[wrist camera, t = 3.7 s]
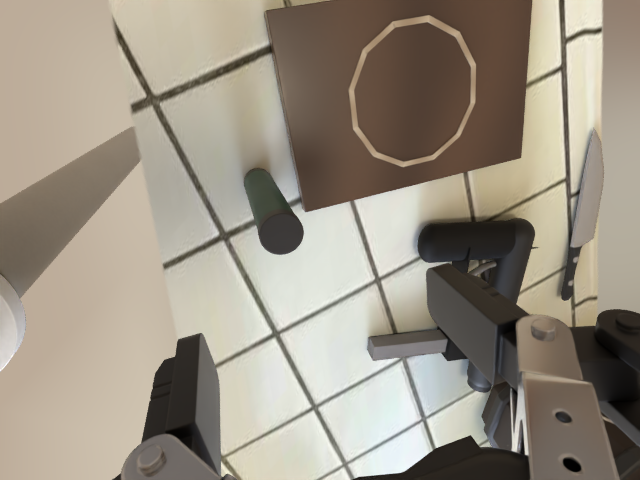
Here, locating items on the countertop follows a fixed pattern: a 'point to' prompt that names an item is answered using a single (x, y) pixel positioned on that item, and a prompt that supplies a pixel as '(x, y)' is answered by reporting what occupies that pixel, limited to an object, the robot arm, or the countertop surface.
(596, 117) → the countertop surface
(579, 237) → the chef's knife
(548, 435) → the robot arm
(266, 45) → the countertop surface
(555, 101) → the countertop surface
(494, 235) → the door handle
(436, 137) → the drawing board
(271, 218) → the marker
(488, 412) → the coffee canister
